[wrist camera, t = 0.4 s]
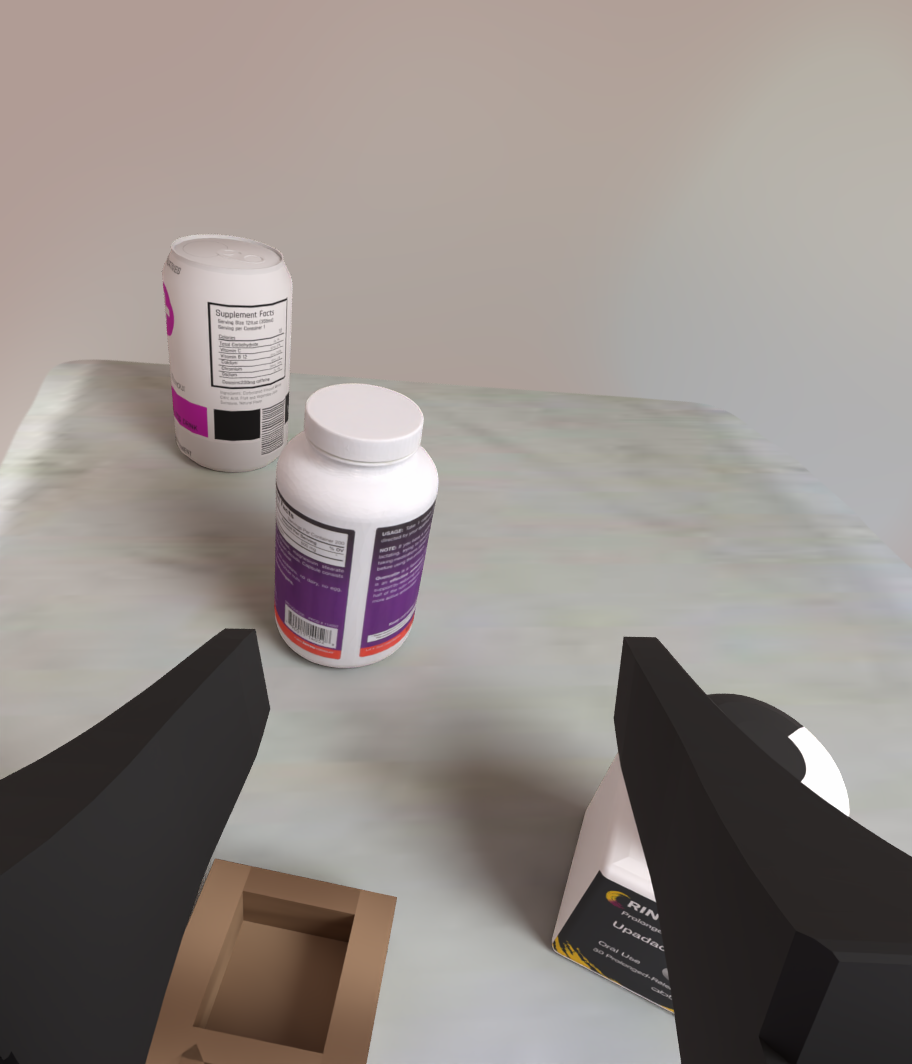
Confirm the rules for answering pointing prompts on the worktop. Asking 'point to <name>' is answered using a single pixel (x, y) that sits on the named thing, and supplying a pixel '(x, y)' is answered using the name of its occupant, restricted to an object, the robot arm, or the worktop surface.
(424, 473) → the pill bottle
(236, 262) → the supplement can
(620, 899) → the medicine bottle
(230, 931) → the socket block
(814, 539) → the worktop surface
